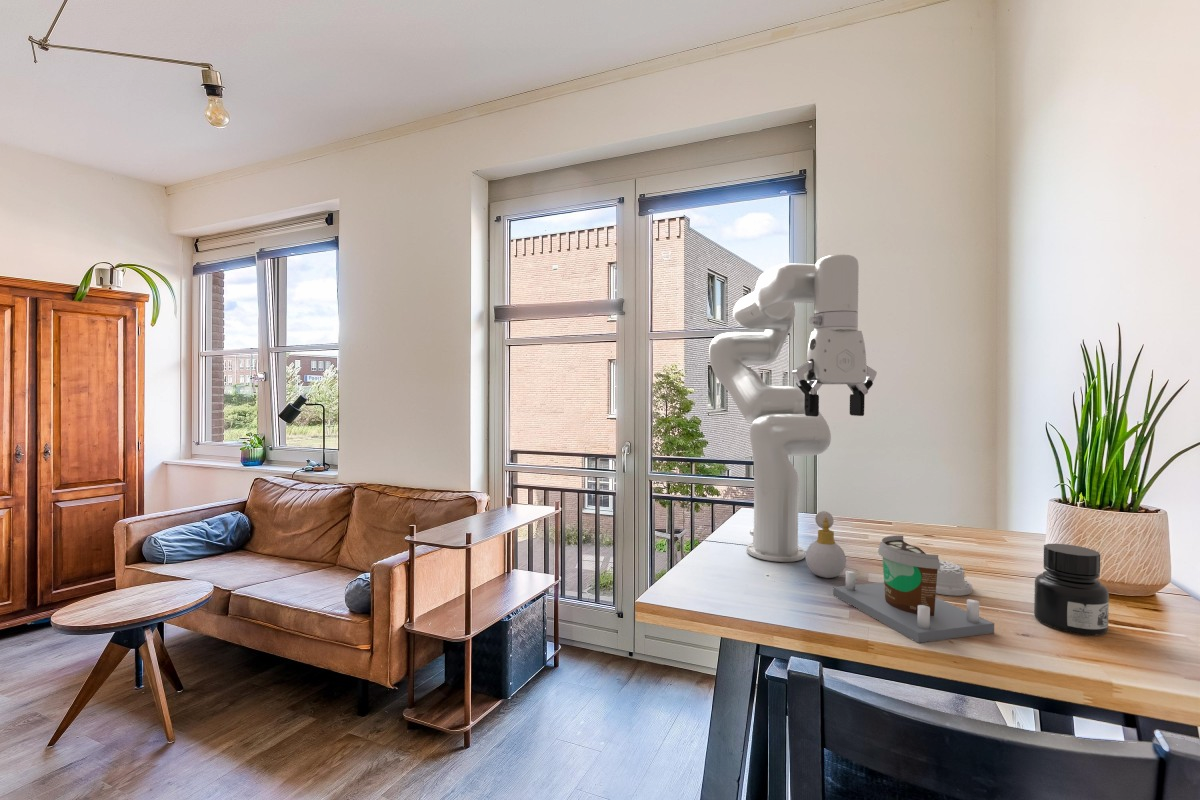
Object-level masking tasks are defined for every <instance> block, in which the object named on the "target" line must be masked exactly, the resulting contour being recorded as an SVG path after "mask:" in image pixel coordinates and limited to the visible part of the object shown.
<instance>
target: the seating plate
mask: <svg viewBox="0 0 1200 800" xmlns="http://www.w3.org/2000/svg"><path fill="white" fill-rule="evenodd" d="M856 578H857V577H856V572H855V571H852V570H846V571H845V585H842V586H841V585H840V586H834V587H832V588H833V590H832V591H833V593H832V595H834V597H835V596H836V597H835V598H837V597H838V599H839V598H840V599H839V600H841V599H842V600H843V601H842V600H841V601H842V602H844V601H845V602H844V603H846V602H847V603H846V604H848V603H849V604H851V605H853V606H854V607H853V606H852V607H853V608H855V607H856V608H855V609H857V608H858V609H860V610H861V611H860V610H859V611H860V612H862V611H863V612H862V613H864V614H865V613H866V615H867V614H868V615H867V616H869V615H870V617H871V616H872V617H871V618H873V619H874V618H875V620H876V619H877V620H876V621H878V620H879V621H878V622H879V623H881V624H884V625H885V626H887V627H889V628H891V629H892V630H894V631H896V632H898V633H899V634H901V635H903V636H905V637H906V638H908V637H909V638H908V639H910V638H911V639H910V640H912V639H913V640H912V641H914V640H915V641H916V643H917V642H918V643H917V644H920V642H922V643H928V642H927V641H930V642H936V640H937V641H944V640H950V639H959V638H965V637H973V636H982V635H989V634H995V623H994V622H993V621H990V620H988V619H987V618H984V617H982V616H980V601H978V600H976V599H966V609H963V608H961V607H960V606H959V607H958V606H956V605H954V604H952V603H949V602H947V601H945V600H943V599H940V598H938V597H937V596H936V597H935V611H934V616H930V607H928V606H925V605H918V614H913V613H909V612H905V611H902V610H899V609H897V608H894V607H893V606H891V605H889V604H888V603H887V602H886V600H885V587H884V581H883V582H873V583H871V582H870V583H861V584H860V583H859V584H856ZM849 604H848V605H849ZM851 605H850V606H851ZM858 609H857V610H858ZM915 641H914V642H915Z"/></svg>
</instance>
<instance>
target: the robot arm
mask: <svg viewBox="0 0 1200 800" xmlns="http://www.w3.org/2000/svg"><path fill="white" fill-rule="evenodd" d="M794 303H799V304H800V303H801V304H804V303H805V304H813V316H810V317H809V320H808V322H809V324H810V325H812V326H813V331H811V332H810V334H809V335H810V336H809V340H808V345H807V352H806V353H807V355H806V362H805V363H803V364H802V365H800V366H799V367H797V368H795V369H793V370H792V371H791V374H792V376H793V378H794V381H795V382H796V383H795V385H796V387H795V386H792V385H791V386H790V385H789V386H788V385H784V386H783V385H770V384H766V383H765V381H764V380H763V379H762V378H761V376H760V375H759V374H758V373H757V372H756V371H755V370H754V369H752V368H751V367H749V366H766V365H770V364H773V362H775V361H776V360H777V359H778V356H779V355H780V352H781V350H782V348H783V346H784V344H785V342H786V340H787V338H788V335H789V334H790V331H791V329H792V326H793V323H794V321H795V317H796V308H795V304H794ZM732 316H733V319H734V321H735V322H736V324H738V325H739V326H740V327H742V328H744V329H749V330H764V332H750V331H749V332H747V331H744V332H743V331H742V332H741V331H733V332H732V331H731V332H724V333H720V334H718V335H717V336H714V338H712V340H711V342H710V344H709V349H708V357H709V363H710V366H711V369H712V371H713V374H714V375H715V377H716V379H718V381H719V382H720V384H721V385H723V387H724V388H725V389H726V390H727V391H728V393H729V394H730V396H731V398H732V401H734V403H735V405H736V407H737V408H738V410H739V412H740V413H741V415H742V416H743V418H744V419H745V420H746V422H748V423H749V424H751V425H750V428H749V438H750V445H751V451H752V458H753V459H752V460H753V484H754V485H753V488H754V489H753V529H751V530H750V531H749V535H751V536H752V537H753V538H752V542H750V543H748V544H747V545H746V552H747V554H748V555H749V556H752V557H754V558H757V559H759V560H764V561H768V562H775V563H776V562H777V563H778V562H779V563H792V562H798V561H802V560H804V558H805V559H806V550H805V549H804V548H802V547H800V546H799V476H798V472H797V469H796V468H795V466H794V465H793V464H792V462H791V460H790V459H789V457H805V456H807V457H808V456H818V455H820V454H823V453H824V452H826V451H827V450H828V449H829V447H830V444H831V441H832V434H831V430H830V426H829V423H827V421H826V419H825V417H824V416H823V414H822V413H821V412H820V395H819V394H817V392H818V391H819V390H820V389H821V387H822V385H847V388H849V389H850V391H851V392H852V394H851V393H850V395H849V415H850V416H854V417H855V416H856V417H863V416H864V415H865V395H867V394H868V393H869V390H870V388H872V386H873V384H874V381H875V379H876V377H877V371H876V369H875V370H874V369H873V368H872V367H870V366H869V365H867V353H866V346H865V345H866V344H865V340H864V335H863V332H862V330H859V328H858V327H859V326H858V325H859V261H858V259H857V257H855V256H854V255H850V254H832V255H827V256H824V257H821V258H820V259H818V260H817V261H816V263H815V264H814V263H813V264H810V263H781V264H778V265H775V266H772V267H771V268H769V269H767V270H765V271H764V272H763V273H761V275H760V276H759V277H758V280H757V281H756V285H755V288H754V291H752V292H750V293H748V294H747V295H744V296H742V297H741V298H740V299H739V300H737V302H736V303H735V305H734V307H733V311H732ZM805 377H806V379H805Z"/></svg>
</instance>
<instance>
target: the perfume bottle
mask: <svg viewBox="0 0 1200 800" xmlns="http://www.w3.org/2000/svg"><path fill="white" fill-rule="evenodd" d="M814 519H815V524H816V525H817V526H818V527H819V528H820V529H818V531H817V539H816V540H815V541H813V542H812V543H811V544H810V545H809V546H808V547H807V550H805V562H806V565H807V567H808V569H809V570H810V571H811V572H812V573H813V574H814V575H816V576H818V577H820V578H825V579H832V578H837V577H838V576H840V575H841V574H842V573H844V570H845V569H846V567H847V566H846V565H847V556H846V554H845V551H844V550H843V548H842V547H841V546H840V545H839V544H838V543H836V542H835V536H834V534H835V532H834V530H830V528H832V526H833V525H834V522H835V521H834V520H835V519H834V517H833V515H832V514H831V513H830V512H828V511H825V510H823V511H819V512H818V513H817V514H816V515H815V518H814Z"/></svg>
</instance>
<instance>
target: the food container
mask: <svg viewBox="0 0 1200 800" xmlns="http://www.w3.org/2000/svg"><path fill="white" fill-rule="evenodd" d="M877 553H878V555H879V556H881V558H882V569H883V571H882V572H883V582H884V587H885V600H886V602H887V603H888V604H889V605H891V606H893V607H894V608H897V609H899V610H902V611H905V612H909V613H913V614H918V605H925V606H928V607H930V616H934V611H935V597H936V598H937V595H936V594H937V593H936V584H937V571H938V569H940V562H939V560H940V559H939V554H933V553H931V554H930V553H928V554H927V553H926V552H925V551H923V549H921V548H920V547H918V546H915V545H911V544H909V543H907V542H906V541H904V535H889V536H885V537H882V539H881V541H880V543H879V545H878V550H877Z"/></svg>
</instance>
